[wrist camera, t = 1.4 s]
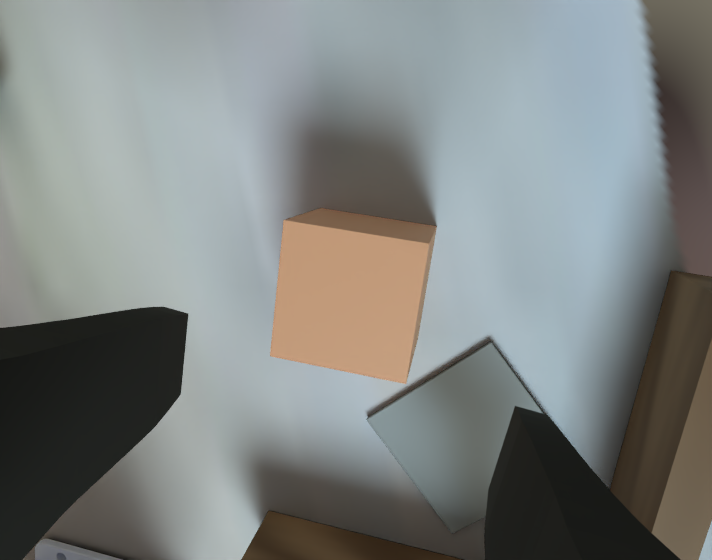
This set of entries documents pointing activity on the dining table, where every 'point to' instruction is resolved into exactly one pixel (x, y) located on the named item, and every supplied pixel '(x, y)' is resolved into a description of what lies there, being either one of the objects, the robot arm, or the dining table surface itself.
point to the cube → (351, 292)
